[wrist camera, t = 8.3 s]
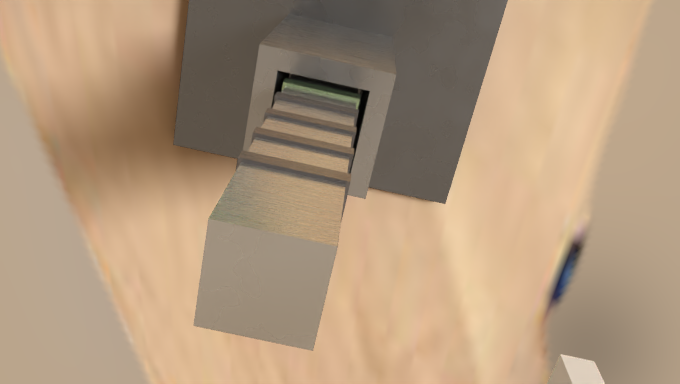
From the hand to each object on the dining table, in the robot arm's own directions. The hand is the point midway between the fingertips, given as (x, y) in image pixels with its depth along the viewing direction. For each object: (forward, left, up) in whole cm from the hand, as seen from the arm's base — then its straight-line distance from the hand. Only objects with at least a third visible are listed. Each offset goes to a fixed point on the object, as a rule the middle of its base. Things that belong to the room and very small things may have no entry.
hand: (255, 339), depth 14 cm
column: (+2, 0, -28) cm, 28 cm away
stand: (+2, 0, -36) cm, 36 cm away
